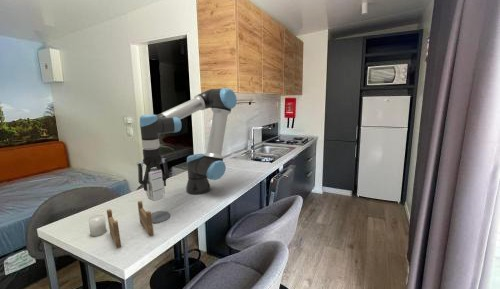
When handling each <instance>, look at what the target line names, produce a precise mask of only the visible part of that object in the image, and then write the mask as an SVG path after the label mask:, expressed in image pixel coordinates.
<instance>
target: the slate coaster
mask: <svg viewBox="0 0 500 289" xmlns="http://www.w3.org/2000/svg"><path fill="white" fill-rule="evenodd" d="M170 213H171V212H169V211H165V210H159V211H155V212H151V217H152V225H155V224H160V223H163V222H166V221H168V220H169V219H170V218H171V214H170Z"/></svg>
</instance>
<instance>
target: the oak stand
mask: <svg viewBox="0 0 500 289" xmlns="http://www.w3.org/2000/svg"><path fill="white" fill-rule="evenodd" d="M137 206H138V207H137V208H138V216H139V224H140V225H141V227H142V228H143V230H144V231H145V232H146V234H147V235H148V236H149V237H153V236H154V228H153V223H152V217H151V214H152V211H151V210H145V209H144V205H143V201H142V200H138V201H137ZM106 214H107V220H108V221H107V222H108V229H109V234H110V236H111V239H112V241H113V243H114V245H115V247H116V249H119V248H122V243H121V235H120V228H119V221H118V220H115V218H114V217H113V211H112V209H111V208H109V209H106Z"/></svg>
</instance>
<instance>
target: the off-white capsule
mask: <svg viewBox="0 0 500 289" xmlns="http://www.w3.org/2000/svg"><path fill="white" fill-rule="evenodd" d="M105 218H106V216H105V215H104V214H97V215H93V216H91V217H89V218H88V226H89V234H90V236H91V237H99V236H102V235H104V234H106V232H107V226H106V225H107V224H106V219H105Z"/></svg>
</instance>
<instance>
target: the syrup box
mask: <svg viewBox="0 0 500 289" xmlns="http://www.w3.org/2000/svg"><path fill="white" fill-rule="evenodd" d="M145 171H146V169H145V170H144V172H145ZM162 172H163V170H162V169H161V170H158V169H157V168H156V167H153V168H151V170H150V172H148V174H149V177H148V181H147V183H148V184H149V192H150V197H149V198H148V197H147V200H151V201H153V202H157V201H160V200H162V199H165V194H164V190H163V180H162Z"/></svg>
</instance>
